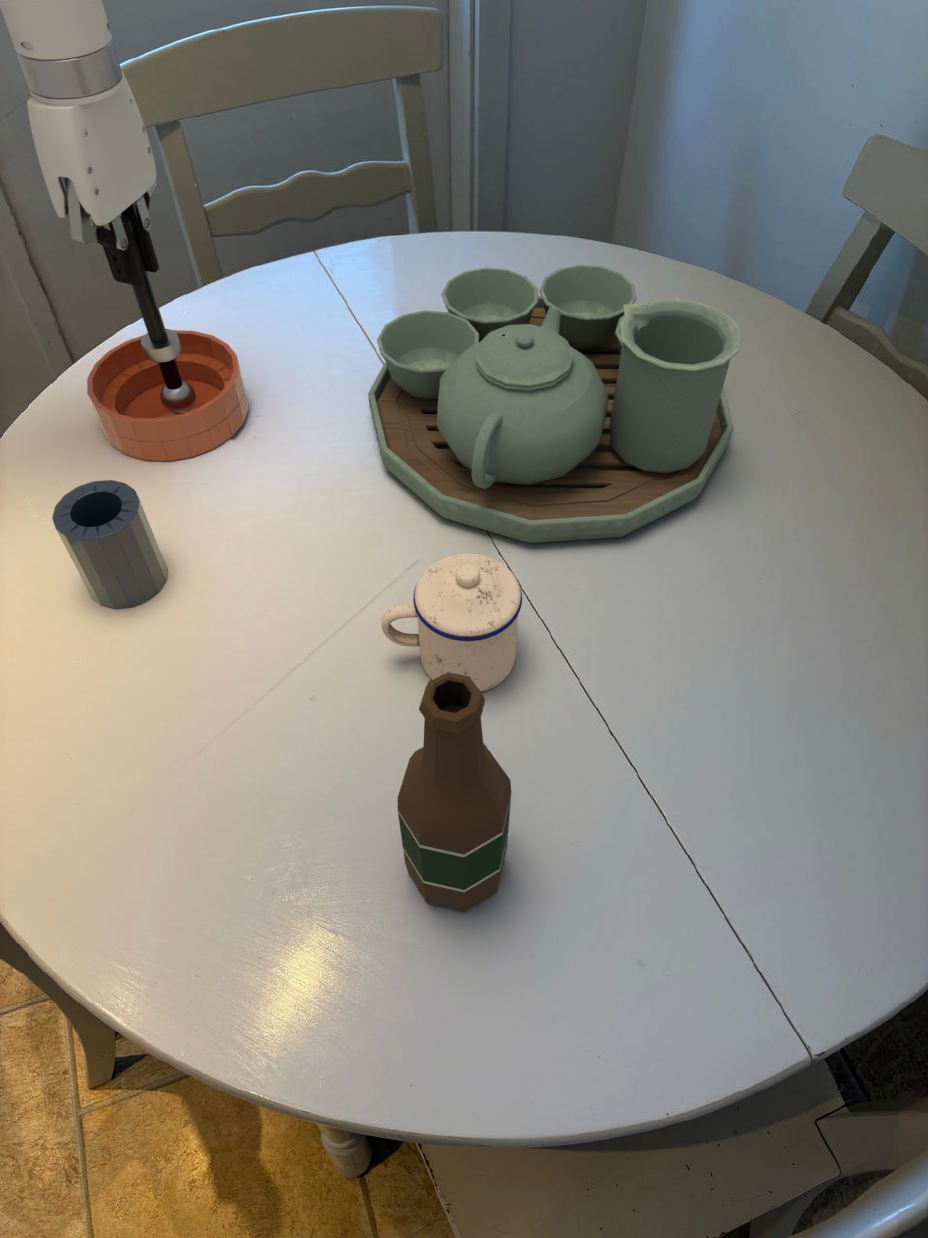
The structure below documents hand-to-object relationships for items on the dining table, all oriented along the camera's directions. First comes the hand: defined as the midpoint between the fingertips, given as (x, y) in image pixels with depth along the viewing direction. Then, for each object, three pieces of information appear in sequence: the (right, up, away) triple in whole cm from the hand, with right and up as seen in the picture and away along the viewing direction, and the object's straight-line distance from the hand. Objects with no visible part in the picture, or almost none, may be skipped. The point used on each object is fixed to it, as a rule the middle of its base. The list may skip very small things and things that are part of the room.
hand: (137, 274), depth 87 cm
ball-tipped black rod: (0, -10, +13) cm, 17 cm away
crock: (-1, -30, 0) cm, 30 cm away
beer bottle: (+31, -53, -18) cm, 64 cm away
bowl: (-1, -11, +15) cm, 18 cm away
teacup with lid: (+31, -37, -6) cm, 49 cm away
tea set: (+41, -11, +14) cm, 45 cm away
